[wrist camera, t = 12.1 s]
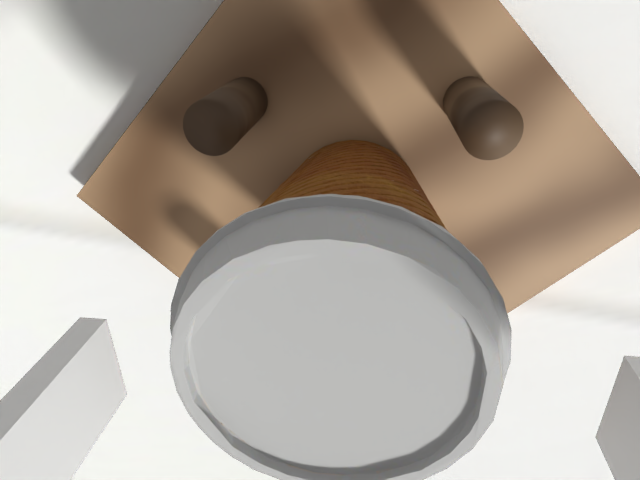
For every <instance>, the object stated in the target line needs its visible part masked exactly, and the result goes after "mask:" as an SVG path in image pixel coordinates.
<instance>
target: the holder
mask: <svg viewBox="0 0 640 480" xmlns="http://www.w3.org/2000/svg"><path fill="white" fill-rule="evenodd" d="M346 140H362V141H368V142H372V143H376V144H378V145H380V146H383V147H385V148H387V149H389V150H391V151H392V152H394V153H395V154H396V155H398V156H399V157H400V158H402V160H403V161H404V162H405V163H406V164H407V165H408V166H409V168H410V169H411V171H412V172H413V174H414V176H415V178H416V180H417V181H418V183H419V184H420V186H421V188H422V189H423V191H424V193H425V194H426V196H427V198H428V200H429V201H430V203H431V204H432V206H433V208H434V209H435V211H436V213H437V215H438V216H439V217H440V219H441V221H442V223H443V224H444V226H445V228H446V229H447V231H448V232H449V233H450V234H451V235H453V236H454V237H455V238H456V239H457V240H458V241H459V242H461V243H462V244H463V245H464V246H465V247H466V248H467V249H468V250H469V251H471V252H472V253H473V254H474V255H475V256H476V257H477V258H478V259H479V260H480V261H481V263H482V264H483V266H484V267H485V269H486V271H487V272H488V274H489V276H490V277H491V279H492V280H493V282H494V284H495V285H496V287H497V289H498V290H499V292H500V294H501V296H502V297H503V299H504V303H505V307H506V311H507V313H509V312H510V311H512V310H513V309H515V308H516V307H518V306H520V305H521V304H523V303H524V302H526V301H527V300H529V299H530V298H532V297H534V296H535V295H537V294H538V293H540V292H541V291H543V290H545V289H546V288H548V287H549V286H551V285H552V284H554V283H555V282H557V281H559V280H560V279H562V278H563V277H565V276H566V275H568V274H570V273H571V272H573V271H574V270H576V269H577V268H579V267H580V266H582V265H584V264H585V263H587V262H588V261H590V260H591V259H593V258H595V257H596V256H598V255H599V254H601V253H602V252H604V251H605V250H607V249H609V248H610V247H612V246H613V245H615V244H616V243H618V242H620V241H621V240H623V239H624V238H626V237H627V236H629V235H630V234H632V233H634V232H635V231H637V230H638V229H640V176H639V175H638V174H637V172H636V171H635V170H634V169H633V167H632V166H631V165H630V164H629V162H628V161H627V160H626V159H625V157H624V156H623V155H622V154H621V152H620V151H619V150H618V149H617V147H616V146H615V145H614V144H613V142H612V141H611V140H610V139H609V137H608V136H607V135H606V134H605V132H604V131H603V130H602V129H601V127H600V126H599V125H598V124H597V122H596V121H595V120H594V119H593V117H592V116H591V115H590V114H589V112H588V111H587V110H586V109H585V107H584V106H583V105H582V104H581V102H580V101H579V100H578V99H577V97H576V96H575V95H574V94H573V92H572V91H571V90H570V89H569V87H568V86H567V85H566V84H565V82H564V81H563V80H562V79H561V77H560V76H559V75H558V74H557V72H556V71H555V70H554V69H553V67H552V66H551V65H550V64H549V62H548V61H547V60H546V59H545V57H544V56H543V55H542V54H541V52H540V51H539V50H538V49H537V47H536V46H535V45H534V44H533V42H532V41H531V40H530V39H529V37H528V36H527V35H526V34H525V32H524V31H523V30H522V29H521V27H520V26H519V25H518V24H517V22H516V21H515V20H514V19H513V17H512V16H511V15H510V14H509V12H508V11H507V10H506V9H505V7H504V6H503V5H502V4H501V2H500V1H499V0H224V1H223V2H222V4H221V5H220V6H219V8H218V9H217V10H216V12H215V13H214V14H213V16H212V17H211V18H210V20H209V21H208V22H207V24H206V25H205V26H204V28H203V29H202V30H201V32H200V33H199V34H198V36H197V37H196V38H195V39H194V41H193V42H192V43H191V45H190V46H189V47H188V49H187V50H186V51H185V53H184V54H183V55H182V57H181V58H180V59H179V61H178V62H177V63H176V65H175V66H174V67H173V69H172V70H171V71H170V73H169V74H168V75H167V77H166V78H165V79H164V81H163V82H162V83H161V85H160V86H159V87H158V89H157V90H156V91H155V93H154V94H153V95H152V96H151V98H150V99H149V100H148V102H147V103H146V104H145V106H144V107H143V108H142V110H141V111H140V112H139V114H138V115H137V116H136V118H135V119H134V120H133V122H132V123H131V124H130V126H129V127H128V128H127V130H126V131H125V132H124V134H123V135H122V136H121V138H120V139H119V140H118V142H117V143H116V144H115V146H114V147H113V148H112V149H111V151H110V152H109V153H108V155H107V156H106V157H105V159H104V160H103V161H102V163H101V164H100V165H99V167H98V168H97V169H96V171H95V172H94V173H93V175H92V176H91V177H90V179H89V180H88V181H87V183H86V184H85V185H84V187H83V188H82V189H81V191H80V192H79V193H78V195H77V197H79V198H80V199H81V200H82V201H84V202H85V203H86V204H87V205H89V206H90V207H91V208H92V209H94V210H95V211H96V212H97V213H99V214H100V215H101V216H102V217H104V218H105V219H106V220H107V221H109V222H110V223H111V224H112V225H114V226H115V227H116V228H117V229H119V230H120V231H121V232H122V233H124V234H125V235H126V236H127V237H129V238H130V239H131V240H132V241H134V242H135V243H136V244H137V245H139V246H140V247H141V248H142V249H144V250H145V251H146V252H147V253H149V254H150V255H151V256H152V257H154V258H155V259H156V260H157V261H159V262H160V263H161V264H162V265H164V266H165V267H166V268H167V269H169V270H170V271H171V272H172V273H174V274H175V275H176V276H177V277H179V278H180V276H181V275H182V273H183V271H184V270H185V268H186V266H187V265H188V263H189V261H190V260H191V258H192V257H193V255H194V253H195V252H196V251H197V250H198V249H199V248H200V247H201V246H202V245H203V244H204V243H205V242H206V241H207V240H208V239H209V238H210V237H211V236H212V235H213V234H214V233H215V232H216V231H217V230H219V229H220V228H222V227H223V226H225V225H227V224H228V223H230V222H231V221H233V220H234V219H236V218H238V217H239V216H241V215H242V214H244V213H246V212H249V211H252V210H254V209H257V208H258V207H259V206H260V205H262V203H263V202H264V201H265V200H266V199H267V198H268V197H269V196H270V195H271V194H272V193H273V192H274V191H275V190H276V189H277V188H278V187H279V186H280V184H282V183H283V182H284V181H285V180H286V179H287V178H288V177H289V176H290V175H291V174H292V173H293V172H294V171H295V170H296V169H297V168H298V167H299V166H300V165H301V164H302V163H303V162H304V161H305V160H306V159H307V158H308V157H309V156H310V155H311V154H313V153H314V152H316V151H317V150H319V149H321V148H322V147H324V146H327V145H329V144H332V143H335V142H339V141H346Z"/></svg>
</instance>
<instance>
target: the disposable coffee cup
mask: <svg viewBox="0 0 640 480" xmlns="http://www.w3.org/2000/svg"><path fill="white" fill-rule="evenodd" d="M170 329H171V335H172V339H171V347H170V365H171V371H172V375H173V379H174V382H175V386H176V390H177V393H178V394H179V396H180V398H181V400H182V402H183V404H184V406H185V408H186V410H187V412H188V413H189V415H190V416H191V417H192V419H193V420H194V421H195V423H196V424H197V425H198V427H199V428H200V429H201V430H202V431H203V432H204V433H205V434H206V435H207V436H208V437H209V438H210V439H211V440H212V441H213V442H214V443H215V444H216V445H217V446H219V447H220V448H221V449H222V450H224V451H225V452H226V453H228V454H229V455H230V456H231V457H233V458H235V459H237V460H238V461H240V462H242V463H243V464H245V465H247V466H248V467H250V468H252V469H254V470H256V471H258V472H261V473H264V474H266V475H269V476H272V477H274V478H277V479H280V480H424V479H426V478H428V477H430V476H432V475H434V474H436V473H439V472H441V471H443V470H445V469H447V468H448V467H450V466H451V465H452V464H453V463H455V462H456V461H457V460H459V459H460V458H461V457H463V456H464V455H465V454H467V453H468V452H469V451H470V450H472V449H473V448H474V446H475V445H476V444H477V442H478V441H479V439H480V438H481V437H482V435H483V434H484V433H485V431H486V430H487V429H488V427H489V426H490V425H491V423H492V422H493V420H494V416H495V413H496V409H497V405H498V402H499V398H500V395H501V391H502V387H503V382H504V379H505V376H506V373H507V370H508V367H509V364H510V360H511V327H510V323H509V319H508V315H507V311H506V307H505V303H504V299H503V297H502V296H501V294H500V292H499V290H498V289H497V287H496V285H495V284H494V282H493V280H492V279H491V277H490V276H489V274H488V272H487V271H486V269H485V267H484V266H483V264H482V263H481V261H480V260H479V259H478V258H477V257H476V256H475V255H474V254H473V253H472V252H471V251H469V250H468V249H467V248H466V247H465V246H464V245H463V244H462V243H461V242H459V241H458V240H457V239H456V238H455V237H454V236H453V235H451V234H450V233H449V232H448V231H447V229H446V228H445V226H444V224H443V223H442V221H441V219H440V217H439V216H438V215H437V213H436V211H435V209H434V208H433V206H432V204H431V203H430V201H429V200H428V198H427V196H426V194H425V193H424V191H423V189H422V188H421V186H420V184H419V183H418V181H417V180H416V178H415V176H414V174H413V172H412V171H411V169H410V168H409V166H408V165H407V164H406V163H405V162H404V161H403V160H402V158H400V157H399V156H398V155H396V154H395V153H394V152H392V151H391V150H389V149H387V148H385V147H383V146H380V145H378V144H376V143H372V142H368V141H362V140H346V141H339V142H335V143H332V144H329V145H327V146H324V147H322V148H321V149H319V150H317V151H316V152H314V153H313V154H311V155H310V156H309V157H308V158H307V159H306V160H305V161H304V162H303V163H302V164H301V165H300V166H299V167H298V168H297V169H296V170H295V171H294V172H293V173H292V174H291V175H290V176H289V177H288V178H287V179H286V180H285V181H284V182H283V183H282V184H280V186H279V187H278V188H277V189H276V190H275V191H274V192H273V193H272V194H271V195H270V196H269V197H268V198H267V199H266V200H265V201H264V202H263V203H262V205H260V206H259V207H258V208H257V209H254V210H252V211H249V212H246V213H244V214H242V215H241V216H239V217H238V218H236V219H234V220H233V221H231V222H230V223H228V224H227V225H225V226H223V227H222V228H220V229H219V230H217V231H216V232H215V233H214V234H213V235H212V236H211V237H210V238H209V239H208V240H207V241H206V242H205V243H204V244H203V245H202V246H201V247H200V248H199V249H198V250H197V251H196V252H195V253H194V255H193V257H192V258H191V260H190V261H189V263H188V265H187V266H186V268H185V270H184V271H183V273H182V275H181V276H180V278H179V280H178V283H177V287H176V290H175V294H174V297H173V300H172V304H171V323H170Z"/></svg>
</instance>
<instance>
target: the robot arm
mask: <svg viewBox="0 0 640 480" xmlns="http://www.w3.org/2000/svg"><path fill="white" fill-rule="evenodd" d="M126 395H127V392H126V388H125V384H124V381H123V377H122V374H121V370H120V366H119V363H118V359H117V356H116V352H115V349H114V345H113V341H112V338H111V334H110V331H109V327H108V323H107V320H106V319H95V318H81V317H80V318H79V319H78V320H77V321H76V322H75V323H74V324H73V326H72V327H71V328H70V329H69V330H68V331H67V332H66V333H65V334H64V335H63V336H62V337H61V338H60V339H59V340H58V341H57V342H56V343H55V344H54V345H53V346H52V347H51V348H50V349H49V351H48V352H47V353H46V354H45V355H44V356H43V357H42V358H41V359H40V360H39V361H38V362H37V363H36V364H35V365H34V366H33V367H32V368H31V369H30V370H29V371H28V372H27V373H26V374H25V376H24V377H23V378H22V379H21V380H20V381H19V382H18V383H17V384H16V385H15V386H14V387H13V388H12V389H11V390H10V391H9V392H8V393H7V394H6V395H5V396H4V397H3V398H2V399H1V400H0V480H71V479H72V477H73V476H74V474H75V473H76V471H77V470H78V468H79V467H80V465H81V464H82V462H83V461H84V459H85V457H86V456H87V454H88V453H89V451H90V450H91V448H92V447H93V445H94V444H95V442H96V441H97V439H98V438H99V436H100V435H101V433H102V432H103V430H104V429H105V427H106V426H107V424H108V423H109V421H110V420H111V418H112V417H113V415H114V414H115V412H116V411H117V409H118V407H119V406H120V404H121V403H122V401H123V400H124V398H125V397H126ZM596 439H597V442H598V444H599V446H600V448H601V450H602V452H603V455H604V457H605V459H606V461H607V463H608V466H609V468H610V470H611V472H612V474H613V476H614V479H615V480H640V357H634V356H624V358H623V361H622V364H621V367H620V369H619V372H618V375H617V378H616V381H615V384H614V386H613V389H612V392H611V395H610V398H609V400H608V403H607V406H606V409H605V412H604V415H603V417H602V420H601V423H600V426H599V429H598V431H597V434H596Z"/></svg>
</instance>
